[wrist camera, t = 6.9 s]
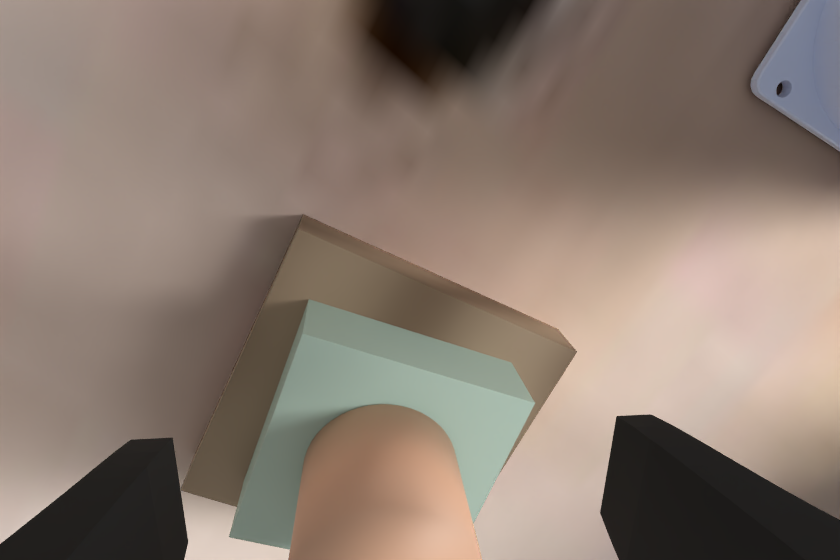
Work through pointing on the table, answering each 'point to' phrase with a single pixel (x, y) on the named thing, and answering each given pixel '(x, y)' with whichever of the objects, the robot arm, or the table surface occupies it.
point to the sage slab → (371, 385)
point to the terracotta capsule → (382, 491)
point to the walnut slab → (373, 298)
